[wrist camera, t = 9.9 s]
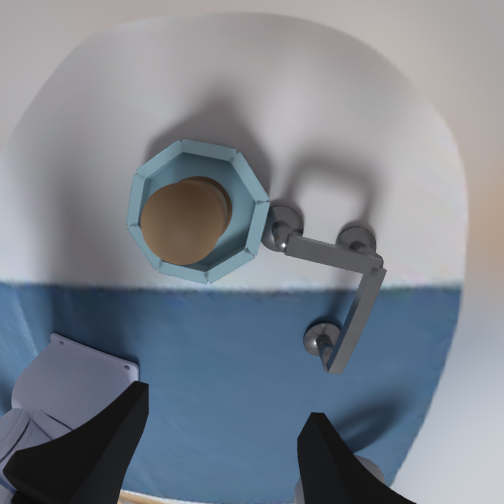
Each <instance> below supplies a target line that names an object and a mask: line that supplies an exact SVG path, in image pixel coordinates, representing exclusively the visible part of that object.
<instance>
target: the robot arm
mask: <svg viewBox="0 0 504 504" xmlns="http://www.w3.org/2000/svg"><path fill="white" fill-rule="evenodd" d="M50 340H51V343H50V344H49V345H48V346H47V347H46V348H45V349H44V350H43V351H42V352H41V353H40V354H39V355H38V356H37V357H36V358H35V359H34V360H33V361H32V362H31V363H30V364H29V366H28V367H27V368H26V369H25V370H24V371H23V372H22V373H21V374H20V376H19V377H18V379H17V381H16V383H15V385H14V388H13V392H12V399H11V401H12V409H11V410H10V411H8V412H7V413H6V414H5V415H4V416H3V417H2V418H1V419H0V504H117V502H118V498H119V494H120V490H121V487H122V483H123V479H124V476H125V473H126V470H127V468H128V465H129V463H130V461H131V459H132V456H133V454H134V452H135V449H136V447H137V445H138V443H139V440H140V438H141V436H142V433H143V431H144V428H145V424H146V421H147V417H148V414H149V384H146V383H143V382H139V367H138V365H137V364H135V363H133V362H130V361H126V360H123V359H120V358H118V357H115V356H112V355H109V354H106V353H103V352H101V351H98V350H95V349H92V348H90V347H87V346H85V345H82V344H80V343H77V342H75V341H72V340H70V339H67V338H65V337H63V336H60V335H58V334H56V333H52V334H51V335H50ZM62 341H63V342H62ZM126 365H127V366H129V367H127V366H126ZM297 451H298V463H299V469H300V475H301V481H302V487H303V493H304V502H305V504H416V503H414V502H412V501H410V500H408V499H406V498H404V497H403V496H401V495H399V494H398V493H396V492H395V491H393V490H391V489H390V488H389V487H387V486H386V485H385V484H383V483H382V482H381V481H380V480H378V479H377V478H376V477H375V476H374V475H373V474H372V473H371V472H370V471H368V470H367V469H366V468H365V467H364V466H363V465H362V463H361V462H360V461H359V460H358V459H357V458H356V457H355V456H354V454H353V453H352V452H351V451H350V449H349V448H348V447H347V445H346V444H345V443H344V441H343V440H342V439H341V437H340V436H339V434H338V433H337V431H336V430H335V429H334V427H333V426H332V424H331V423H330V421H329V420H328V418H327V417H326V415H325V414H324V413H315V412H311V414H310V416H309V418H308V420H307V422H306V424H305V425H304V427H303V429H302V431H301V433H300V435H299V436H298V438H297Z"/></svg>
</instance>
